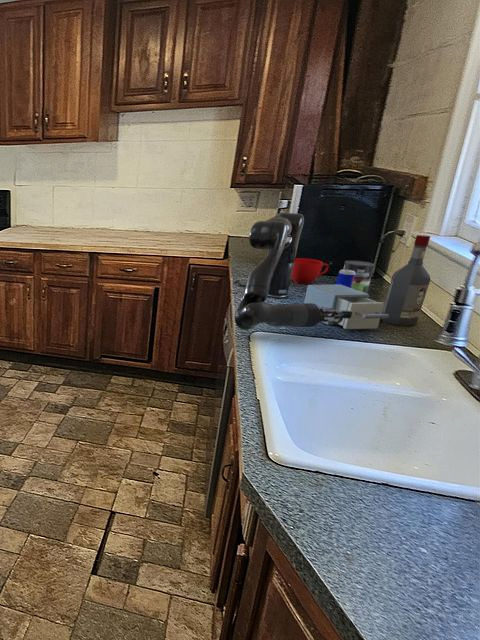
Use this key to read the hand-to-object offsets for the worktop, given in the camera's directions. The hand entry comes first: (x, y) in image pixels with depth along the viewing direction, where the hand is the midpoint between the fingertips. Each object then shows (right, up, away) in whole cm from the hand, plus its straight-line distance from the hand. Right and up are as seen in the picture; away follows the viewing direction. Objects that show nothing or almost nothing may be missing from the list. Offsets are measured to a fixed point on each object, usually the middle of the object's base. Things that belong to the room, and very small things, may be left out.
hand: (349, 314), depth 170 cm
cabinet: (+6, 0, +20) cm, 21 cm away
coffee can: (+33, +11, +48) cm, 59 cm away
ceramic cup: (+27, +20, +71) cm, 79 cm away
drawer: (+7, -3, +10) cm, 12 cm away
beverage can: (+15, +4, +30) cm, 34 cm away
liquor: (+28, -1, +16) cm, 32 cm away
